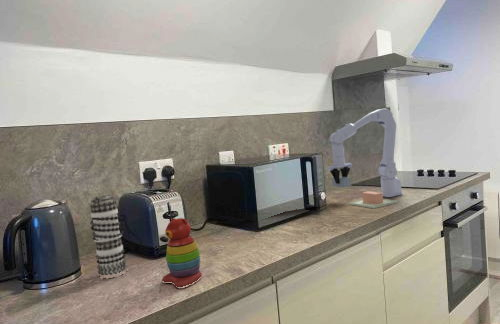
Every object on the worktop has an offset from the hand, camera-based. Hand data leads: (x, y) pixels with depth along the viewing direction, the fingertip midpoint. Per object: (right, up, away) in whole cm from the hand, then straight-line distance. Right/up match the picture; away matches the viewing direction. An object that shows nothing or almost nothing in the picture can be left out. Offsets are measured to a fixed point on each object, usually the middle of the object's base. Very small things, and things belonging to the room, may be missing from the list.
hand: (341, 182), depth 190 cm
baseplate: (+12, -9, -13) cm, 20 cm away
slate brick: (0, -2, 0) cm, 2 cm away
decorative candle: (-90, -25, -71) cm, 117 cm away
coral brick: (+12, -8, -13) cm, 19 cm away
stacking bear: (-65, -23, -84) cm, 108 cm away
